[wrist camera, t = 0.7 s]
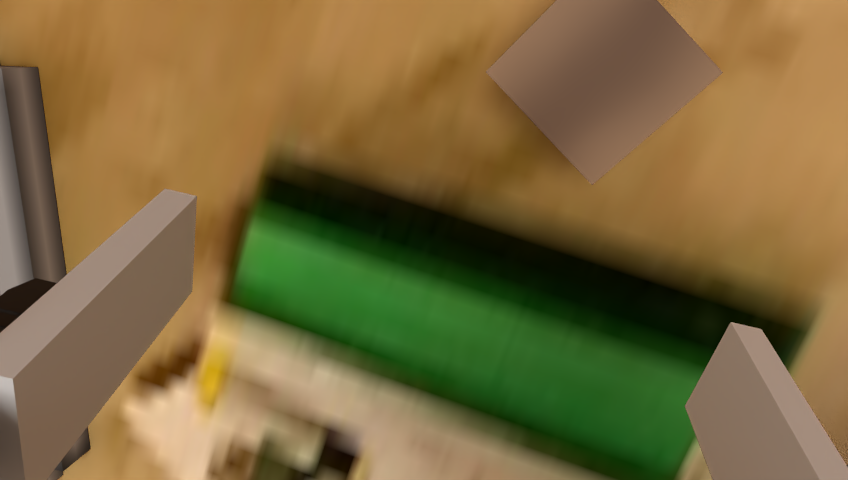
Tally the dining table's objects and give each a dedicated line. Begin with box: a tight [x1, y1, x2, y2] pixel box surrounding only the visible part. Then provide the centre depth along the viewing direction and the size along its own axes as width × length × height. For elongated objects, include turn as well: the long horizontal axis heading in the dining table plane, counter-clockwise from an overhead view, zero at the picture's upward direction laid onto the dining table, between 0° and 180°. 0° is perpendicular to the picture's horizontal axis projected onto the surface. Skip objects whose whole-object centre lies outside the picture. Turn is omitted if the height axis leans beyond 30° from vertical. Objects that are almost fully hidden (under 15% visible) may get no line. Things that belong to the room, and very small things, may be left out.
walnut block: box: [486, 0, 723, 185], centre depth 27 cm, size 6×6×7 cm
